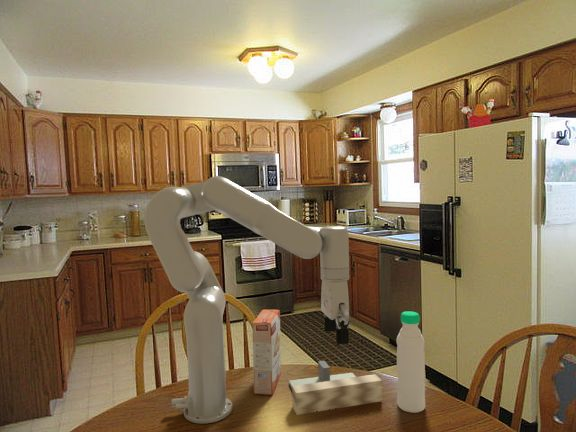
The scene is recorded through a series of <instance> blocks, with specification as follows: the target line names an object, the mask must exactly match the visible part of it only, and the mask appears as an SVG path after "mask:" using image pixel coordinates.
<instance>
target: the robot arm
mask: <svg viewBox="0 0 576 432" xmlns="http://www.w3.org/2000/svg"><path fill="white" fill-rule="evenodd" d="M212 211H216V212H218V213H220V214H222V215H223V216H225V217H227V218H229V219H231V220H232V221H235V222H237V224H240V225H242V226H243V227H245V228H247V229H249V230H251V231H252V232H254V234H257V235H259V236H261V237H263V238H265V239H267V240H268V241H270V242H272V243H274V245H277V246H278V247H281V248H282V249H284V250H286V251H288V252H289V253H291V254H293V255H294V256H297V257H298V258H301V259H305V260H310V259H313V258H315V257H317V256H319V260H320V261H319V262H320V280H321V291H320V292H321V293H320V295H321V296H320V309H321V312H322V313H323V315H324V331H325V332H326V333H331V332H335V339H336V340H335V342H336V345H344V344H345V345H346V344H349V342H350V334H349V333H350V332H349V331H350V325H349V324H350V299H349V286H348V281H349V280H350V254H349V253H350V250H349V248H350V247H349V245H350V244H349V230H348V228H347V227H345V226H339V225H338V226H337V225H333V226H332V225H331V226H323V227H317V226H309V225H307V226H306V225H305V224H304V223H301V222H299V221H298V220H296V219H294V218H292V217H290V216H288V215H287V214H286V213H284V212H282V211H281V210H279V209H278V208H277V207H275V206H274V205H273V204H272V203H270V202H269V201H267V200H265V199H263V198H262V197H260V196H258V195H257V194H254V193H252V192H251V191H249V190H247V189H246V188H244V187H242V186H240V185H239V184H237V183H235V182H233V181H231V180H230V179H228V178H226V177H225V176H220V175H215V176H214V175H213V176H211V177H209V178H208V179H207V180H205V181H202V182H197V183H193V184H189V185H185V186H166V187H163V188H162V189H160V190H158V191H157V192H156V193H155V194H154V195H153V196H152V198H151V199H150V201H149V202H148V203H147V206H146V209H145V212H144V219H143V221H144V227H145V231H146V234H147V237H148V239H149V241H150V243H151V244H152V247H153V249H154V250H155V253H156V255H157V257H158V260H159V261H160V264H161V266H162V268H163V270H164V272H165V274H166V277H167V278H168V280H169V282H170V284H171V286H172V288H174V289H175V290H176V291H178V292H180V293H186V295H187V298H188V302H187V303H186V305H185V308H184V313H183V323H184V331H185V337H186V338H185V339H186V354H187V355H186V356H187V372H188V374H187V375H188V376H187V379H188V392H187V395H184V396H183V397H180V398H179V397H177V398H172V399H171V408H173V407H175V410H176V411H180V410H183V416H184V418H185V419H186V420H187V421H189V422H191V423H194V424H201V425H202V424H212V423H216V422H219V421H221V420H223V419H225V418H227V417H228V416H229V415H230V414H231V413H232V411H233V402H232V401H231V400H230V399H229V398H227V385H226V383H227V382H226V380H227V379H226V359H225V356H226V355H225V339H224V338H225V337H224V326H223V323H224V322H223V321H224V320H223V315H224V311H225V308H226V303H227V301H226V294H225V293H224V290H223V288H222V286H221V284H220V283H219V280H218V278H217V276H216V274H215V271H214V270H213V267H212V266H211V264H210V262H209V260H208V258H206V257H205V255H204V254H202V253H200V252H198V251H195V250H194V249H193V248H192V245H191V243H190V241H189V238H188V237H187V235H186V233H185V231H184V230H183V229H182V226H181V223H180V221H181V220H182V219H184V218H189V217H191V216H196V215H200V214H205V213H208V212H212Z"/></svg>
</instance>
